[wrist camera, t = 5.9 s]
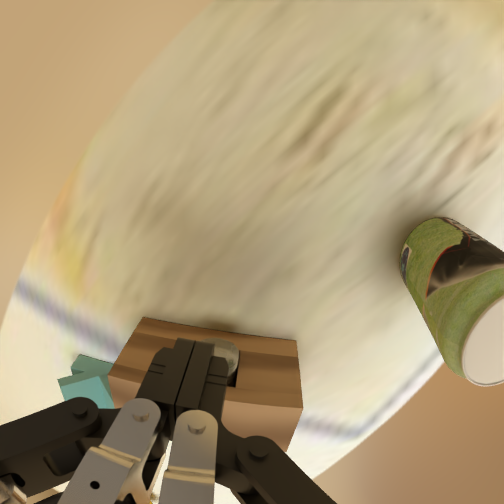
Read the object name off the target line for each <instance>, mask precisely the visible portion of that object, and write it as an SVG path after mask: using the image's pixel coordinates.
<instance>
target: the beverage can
mask: <svg viewBox="0 0 504 504" xmlns="http://www.w3.org/2000/svg"><path fill="white" fill-rule="evenodd" d="M400 272H401V276H402V278H403V281H404V283H405V285H406V286H407V288H408V290H409V292H410V294H411V296H412V297H413V299H414V301H415V303H416V305H417V307H418V309H419V310H420V312H421V314H422V316H423V318H424V320H425V322H426V324H427V326H428V328H429V330H430V332H431V334H432V336H433V338H434V340H435V342H436V344H437V346H438V348H439V351H440V353H441V355H442V357H443V359H444V361H445V363H446V364H447V366H448V367H449V368H450V369H451V370H452V371H453V372H454V373H455V374H457V375H459V376H461V377H463V378H466V379H468V380H469V381H470V382H471V383H473V384H475V385H478V386H493V385H497V384H500V383H502V382H504V252H503V251H502V250H500V249H499V248H497V247H496V246H494V245H493V244H491V243H490V242H488V241H487V240H485V239H484V238H482V237H481V236H479V235H478V234H476V233H475V232H473V231H471V230H470V229H468V228H467V227H465V226H463V225H462V224H460V223H459V222H457V221H455V220H453V219H449V218H440V217H439V218H433V219H430V220H427V221H425V222H424V223H422V224H420V225H419V226H418V227H416V228H415V229H414V230H413V231H412V232H411V234H410V235H409V236H408V238H407V239H406V241H405V243H404V245H403V248H402V251H401V255H400Z"/></svg>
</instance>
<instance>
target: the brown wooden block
mask: <svg viewBox="0 0 504 504" xmlns="http://www.w3.org/2000/svg"><path fill="white" fill-rule="evenodd" d="M178 337H180V338H185V339H191V340H196V341H201V340H203V339H207V338H221V339H225V340H228V341H230V342H231V343H233V344H234V345H235V346H236V347H237V348H238V350H239V359H238V366H237V373H236V380H235V386H234V387H228V386H227V387H226V395H225V401H224V407H223V413H222V419H221V421H222V423H223V425H224V427H225V428H226V429H227V430H228V431H230V432H231V433H233V434H235V435H237V436H240V437H242V438H246V437H249V436H255V435H258V436H264V437H267V438H269V439H271V440H273V441H274V442H275V443H276V444H277V445H278V446H279V447H280V448H281V449H282V450H283V451H284V452H286V451H287V449H288V446H289V444H290V441H291V439H292V436H293V434H294V431H295V429H296V426H297V424H298V421H299V418H300V416H301V413H302V411H303V400H302V390H301V380H300V370H299V361H298V351H297V342H296V341H294V340H285V339H276V338H268V337H260V336H252V335H245V334H238V333H231V332H224V331H218V330H211V329H205V328H199V327H193V326H187V325H181V324H176V323H170V322H165V321H160V320H155V319H150V318H145V317H143V318H142V319H141V321H140V322H139V324H138V326H137V327H136V329H135V330H134V332H133V334H132V335H131V337H130V338H129V340H128V342H127V343H126V345H125V346H124V348H123V350H122V351H121V353H120V355H119V356H118V358H117V360H116V361H115V363H114V365H113V366H112V368H111V370H110V371H109V373H108V375H107V376H108V381H109V386H110V390H111V394H112V399H113V403H114V407H115V409H116V408H121V407H123V405H124V404H125V403H126V402H128V401H130V400H132V399H134V398H135V397H136V394H137V392H138V390H139V388H140V386H141V383H142V381H143V379H144V377H145V375H146V372H147V371H148V368H149V366H150V364H151V362H152V359H153V357H154V355H155V354H156V353H157V352H158V351H159V350H160V349H162V348H163V347H167V348H172V349H173V347H174V345H175V343H176V340H177V338H178Z"/></svg>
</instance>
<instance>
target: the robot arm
mask: <svg viewBox="0 0 504 504" xmlns="http://www.w3.org/2000/svg"><path fill="white" fill-rule="evenodd" d="M214 347H215V344H214V343H209V342H203V341H196V340H191V339H185V338H180V337H178V338H177V340H176V343H175V345H174V347H173V349H172V348H167V347H163V348H162V349H160V350H159V351H158V352H157V353H156V354H155V355H154V357H153V359H152V362H151V364H150V366H149V368H148V371H147V372H146V375H145V377H144V379H143V381H142V383H141V386H140V388H139V390H138V392H137V394H136V397H135V398H134V399H132V400H130V401H128V402H126V403H125V404H124V405H123V407H121V408H116V409H107V408H98V406H97V404H96V403H95V402H94V401H93V400H91V399H89V398H86V397H75V398H72V399H69V400H67V401H64V402H62V403H59V404H57V405H54V406H52V407H49V408H46V409H44V410H41V411H39V412H36V413H33V414H31V415H28V416H25V417H23V418H20V419H17V420H15V421H12V422H9V423H6V424H3V425H1V426H0V504H26V500H27V499H26V498H27V497H30V496H33V495H35V494H38V493H41V492H43V491H45V490H48V489H51V488H53V487H55V486H58V485H60V484H63V483H65V482H67V481H69V480H70V482H69V484H68V485H67V487H66V489H65V491H64V492H61V493H57V494H55V495H52V496H50V497H48V498H46V499H44V500H41V501H39V502H37V503H34V504H150V496H151V492H152V490H153V487H154V485H155V482H156V479H157V477H158V474H159V472H160V469H161V467H162V464H163V462H164V459H165V456H166V449H167V445H168V442H169V440H170V441H172V446H171V452H170V457H169V463H168V468H167V470H165V472H164V475H163V480H162V486H161V491H160V497H159V503H158V504H213V502H214V484H215V482H216V483H218V484H221V485H223V486H225V487H227V488H230V490H231V492H232V493H233V495H234V496H235V497H236V498H237V500H238V501H239V502H240V503H241V504H337V503H336V502H335V501H333V500H332V499H331V498H330V497H329V496H328V495H327V494H326V493H325V492H324V491H323V490H322V489H321V488H320V487H319V486H318V485H316V484H315V483H314V482H313V481H312V480H311V479H310V478H309V477H308V476H307V475H306V474H305V473H304V472H303V471H302V470H301V469H300V468H299V467H298V466H297V465H296V464H295V463H294V462H293V461H292V460H291V459H290V458H289V456H288V455H287V454H286V453H285V452H284V451H283V450H282V449H281V448H280V447H279V446H278V445H277V444H276V443H275V442H274V441H273V440H271V439H269V438H267V437H264V436H258V435H255V436H249V437H246V438H242V437H240V436H237V435H235V434H233V433H231V432H230V431H228V430H227V429H226V428H225V427H224V425H223V423H222V421H221V419H222V413H223V407H224V401H225V395H226V387H227V379H228V371H229V366H228V363H227V361H226V358H224V357H218V356H214Z"/></svg>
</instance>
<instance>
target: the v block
mask: <svg viewBox="0 0 504 504" xmlns="http://www.w3.org/2000/svg"><path fill="white" fill-rule="evenodd" d="M113 365H114V364H111V363H108V362H104V361H101V360H97V359H94V358H90V357H87V356H83V355H79V357H78V358H77V359H76V361H75V362H74V363H73V365H72V366H71V370H72V374H73V375H72V376H68V377H64V378H61V379H57V380H58V383H59V386H60V388H61V391H62V394H63V397H64V400H65V401H67V400H69V399H72V398H75V397H86V398H89V399H91V400H93V401H94V402H95V403H96V404H97V406H98V408H107V409H115V407H114V403H113V399H112V394H111V390H110V386H109V381H108V376H107V375H108V373H109V371H110V370H111V368H112V366H113Z"/></svg>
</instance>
